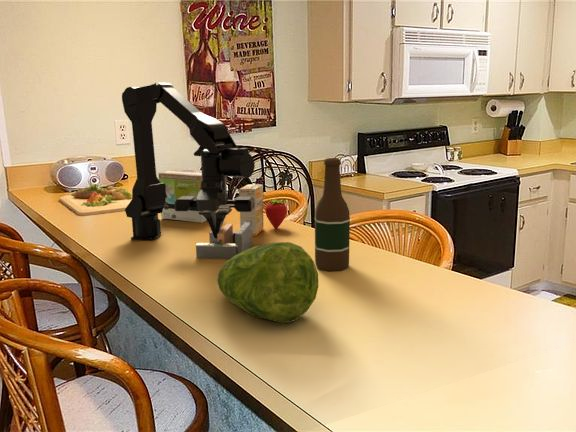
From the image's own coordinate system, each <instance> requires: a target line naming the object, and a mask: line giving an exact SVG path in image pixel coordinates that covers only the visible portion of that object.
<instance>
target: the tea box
mask: <svg viewBox="0 0 576 432" xmlns="http://www.w3.org/2000/svg"><path fill="white" fill-rule="evenodd" d="M158 179H159V181H160V182H161V183H165V185H166V195H167V198H166V201H165V204H164V207H163V211H162V213H160V216H161V220H175V221H185V222H192V223H197V224H198V223H200V224H202V223H205V222H207V220H206V218H205V217H204V216H203V215H199V213H198V212H199V211H198V207H190V209H189V210H188V211H175V201H176V200H177V199H178V198H180V197H181V196H196V197H197V195H198V193H199V191H200V189H201V181H202V169H201V170H198V169H181V168H175V169H171V170H167V171H163V172H159V173H158ZM217 211H218V210H217ZM217 211H216V212H217Z"/></svg>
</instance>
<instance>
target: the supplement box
mask: <svg viewBox="0 0 576 432" xmlns="http://www.w3.org/2000/svg"><path fill="white" fill-rule="evenodd" d="M263 188H264V185H263V184H261V183H259V184H258V183H256V184H253V183H252V184H246V185H244V186H242V187H241V188H239V189H238V191H239V196H252V197H253V198H254V200H255V208H254V209H253V210H252V211H251V212H239V221H240V222H239V225H240V226H239V227H240V228H241V227H242V225H243V224H244V223H245V222H246V221H252V232H253V237H257V236H258V235H259V233H261V232H262V231H263V230H264V189H263ZM239 196H238V197H239ZM240 228H239V229H240Z"/></svg>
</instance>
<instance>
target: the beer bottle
mask: <svg viewBox="0 0 576 432" xmlns="http://www.w3.org/2000/svg"><path fill="white" fill-rule="evenodd" d="M323 164H324V181H323V190H322V195H321V197H320V199H319V200H318V202H317V204H316V207H315V211H314V264H315V267H316V269H317V270H320V271H325V272H342V271H344V270H346V269H348V268H349V265H350V236H351V235H350V229H351V228H350V227H351V225H350V224H351V223H350V222H351V221H350V217H351V215H350V210H349V207H348V206H349V205H348V204H347V202H346V200H345V199H344V197H343V195H342V185H341V184H342V183H341V165H342V161H341V159H339V158H338V157H336V158H335V157H331V158H330V157H328V158H325V159H324V162H323Z"/></svg>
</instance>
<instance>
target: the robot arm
mask: <svg viewBox="0 0 576 432" xmlns="http://www.w3.org/2000/svg"><path fill="white" fill-rule="evenodd" d="M121 101H122V106H123V111H124V114H125V115H126V116H127V118H128V119H129V121H130V122H131V128H132V136H133V137H132V138H133V139H132V140H133V148H134V149H133V150H134V158H135V159H134V160H135V161H134V162H135V167H136V168H135V169H136V180H135V181H134V184H133V186H132V190H131V195H132V200H131V202H130V203H129V204H128V206H127V207H126V209H125V211H124V212H125V214H126V217H127V218H131V224H132V225H131V226H132V236H131V237H130V240H131V241H132V240H139V241H141V240H142V241H153V240H154V241H155V239H157V238H158V237H160V236H162V229H161V226H162V225H161V219H159V214H161V213H162V211H163V207H164V204H165V201H166V198H167V195H166V185H165V183H161V182H160V181H159V177H157V176H158V175H157V168H156V158H155V157H156V156H155V154H156V153H155V146H154V144H155V143H154V133H153V132H154V131H153V119H154V118H155V115H156V113H157V107H158V106H157V104H160V103H161V104H162V106H164V107H165V108H166V109H168V111H169V112H170V113H172V114H173V115H174V116H175V117H176V118H177V119H179V120H180V121H181V122H182V123H183V124H184V125H186V127H187V128H188V130H189V133H190V137H192V139H193V140H194V141H195V142H196V144H197V145H198V146H199V147H198V149H197V150H195V151H194V153H193V156H194V157H200V163H201V165H200V166H201V171H202V181H201V189H200V191H199V193H198V195H197V197H196V196H181V197H180V198H178V199H177V200H176V201H175V211H188V210H189V209H190V207H198V211H199V212H198V213H199V215H203V216H204V217H205V218H206V220H207V221H206V222H207V224H208V225H209V228H210V230H211V231H212V233H213V236H214V238H218V237H217V234H218V233H219V232H220V231H221V229H222V228H223V225H224V221H225V218H226V217H227V215H229V214H230V213H231V212H232V211H233V208H234V209H235V210H236V212H238V213H240V212H251V211H252V210H253V209H254V208H255V200H254V198H253V197H252V196H237V197H236V198H235V199H229V196H228V192H227V191H228V190H227V180H228V179H227V177H230V178H231V177H232V178H242V179H243V178H244V179H249V178H250V177H251V176H252V175H253V174H254V171H255V164H256V163H255V161H254V158H253V156H252V154H250V153H249V148H248V147H242V148H239V147H238V146H237V144H236V142H235V140H234V139H233V137H232V136H231V134H230V133H229V129H228V126H227V125H226V123H224V122H222V121H221V120H220V119H217V118H215V117H212V116H210V115H207V114H205V113H203V112H202V111H201V110H199V109H198V108H197V107H196V106H195V105H194V104H193V103H191V102H190V101H189V100H188V99H187V98H186V97H185V96H184V95H182V94H181V93H180V92H179V91H178V90H177V89H175V88H174V86H173V84H171V83H170V82H154V83H153V84H149V85H144V86H128V87H126V88H125V89H124V91H123V92H122V94H121ZM216 211H217V212H216Z"/></svg>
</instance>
